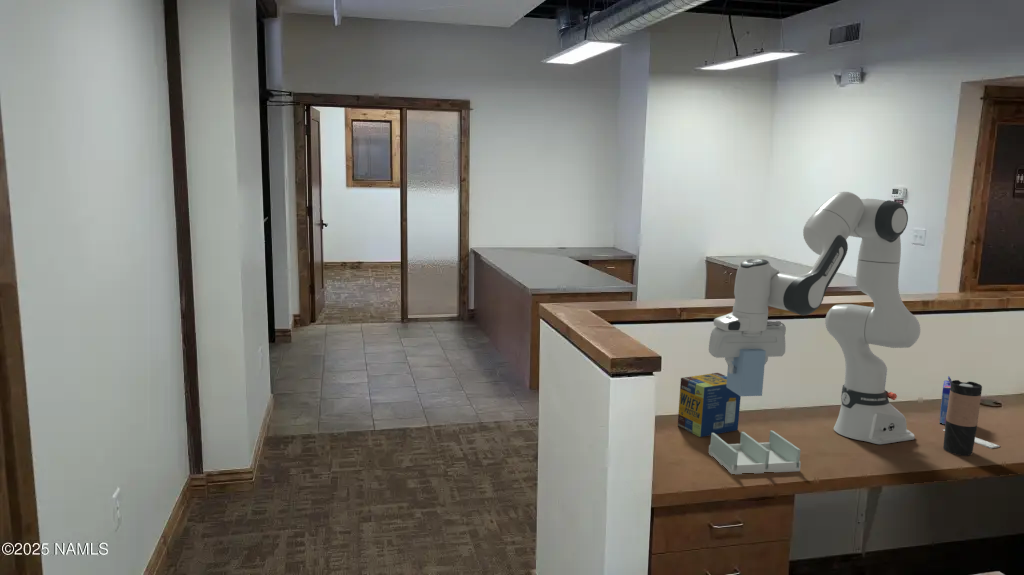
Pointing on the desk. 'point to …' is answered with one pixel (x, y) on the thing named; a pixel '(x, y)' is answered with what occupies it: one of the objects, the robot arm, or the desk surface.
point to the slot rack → (756, 454)
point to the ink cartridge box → (945, 400)
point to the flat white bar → (984, 443)
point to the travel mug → (962, 417)
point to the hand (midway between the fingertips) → (745, 372)
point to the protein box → (708, 405)
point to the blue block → (747, 373)
